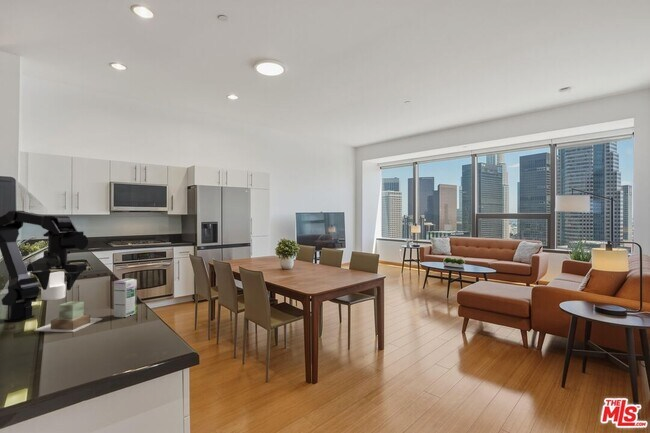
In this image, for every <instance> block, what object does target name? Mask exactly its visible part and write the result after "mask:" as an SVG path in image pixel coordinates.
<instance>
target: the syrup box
mask: <svg viewBox="0 0 650 433" xmlns="http://www.w3.org/2000/svg"><path fill="white" fill-rule="evenodd" d="M137 283H138V281H137V279H136V278H123V279H118V280H115V281H114V282H113V317H115V318H124V317H126V318H127V317H128V318H129V317H131V316H133V315H136V314H137V295H138V294H137V292H138V290H137V288H138V286H137V285H138V284H137ZM130 315H131V316H130Z"/></svg>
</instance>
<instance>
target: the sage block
mask: <svg viewBox="0 0 650 433" xmlns="http://www.w3.org/2000/svg"><path fill="white" fill-rule="evenodd" d="M84 308H85V301H71V300H70V301H67V302H64V303H61V304H59V305H58V318H59V319H71V320H73V319H75V318H78V317H80V316H83V315H84V311H85V309H84Z"/></svg>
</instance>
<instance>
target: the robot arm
mask: <svg viewBox="0 0 650 433" xmlns="http://www.w3.org/2000/svg"><path fill="white" fill-rule="evenodd" d="M24 223H25V224H31V225H35V226H40V227H41V228H42V229H44V230H47V231H46V232H45V233H43V235H42V236H43V237H44V238H45V237H48V238H47V251H44V253H43V256H42V257H39V258H38V259H36V260H34V261H33V262H30V263H28V264H27V266H25V262H24V260H23V256H22V254H21V251H20V248H19V245H18V242H17V240H18V237H19V235H20V231H19V230H20V229H22V228H23V226H24ZM88 244H89V239H88V238H87V236H86V234H85V233H84V231H82V230H81V231H78V230H77V228H76V226H75V224H74V223H73V221H72V219H71V217H70V216H68V215H46V214H39V213H33V212H28V211H25V210H9V211H8V212H6V213H5V214H4V215H2V216H0V253H1V255H2V258H3V261H4V264H5V266H6V269H7V272H8V275H9V278H10V281H9V284H8V286H7V291H8V292H7V293H6V294H5V295H4V297H3V298H1V304H2V306H7V318H3V320H7V322H21V321H24V320H27V319H30V318H33V317H35V315H36V314H33V305H32V302H34V301H37V298H38V296H39V293H40V292H41V291H40V289H41V288H40V287H42V288H43V290H46V289H47V286H48V281H49V276H50V273H51V272H52V271H51V270H56V271H57V270H59V271H61V270H64V276H65V277H66V291H71V289H72V288H73V286H74V285H75V283H76V280H77V279H78V277H79V276H80V274H81V273H84V272H85V271H87V270H88V268H87V267H88V266H87V264H86V263H85V262H72V263H71V261H70V260H69V261H68V254H71V250H76V251H77V250H81V251H82V250H85V249H86V248H87V246H88ZM28 272H29V273H30V274H31V275H34V276H31V275H29V274H28Z"/></svg>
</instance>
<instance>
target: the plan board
mask: <svg viewBox="0 0 650 433" xmlns="http://www.w3.org/2000/svg"><path fill="white" fill-rule="evenodd" d="M102 320H103V317H102V318H98V317H96V318H95V317H91V314H89V313H88V314H84V315H83V316H80V317H78V318H75V319H73V320H71V319H59V317H57V318H54V319H52V320H50V323H49V324H46V325H43V326H41V327H38V328H35V329H34V330H33V332H54V333H55V332H56V333H57V332H58V333H74V332H75V333H76V332H77V331H80V330H81V329H84V328H86V327H88V326H91V325H93V324H95V323H98V322H100V321H102Z"/></svg>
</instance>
